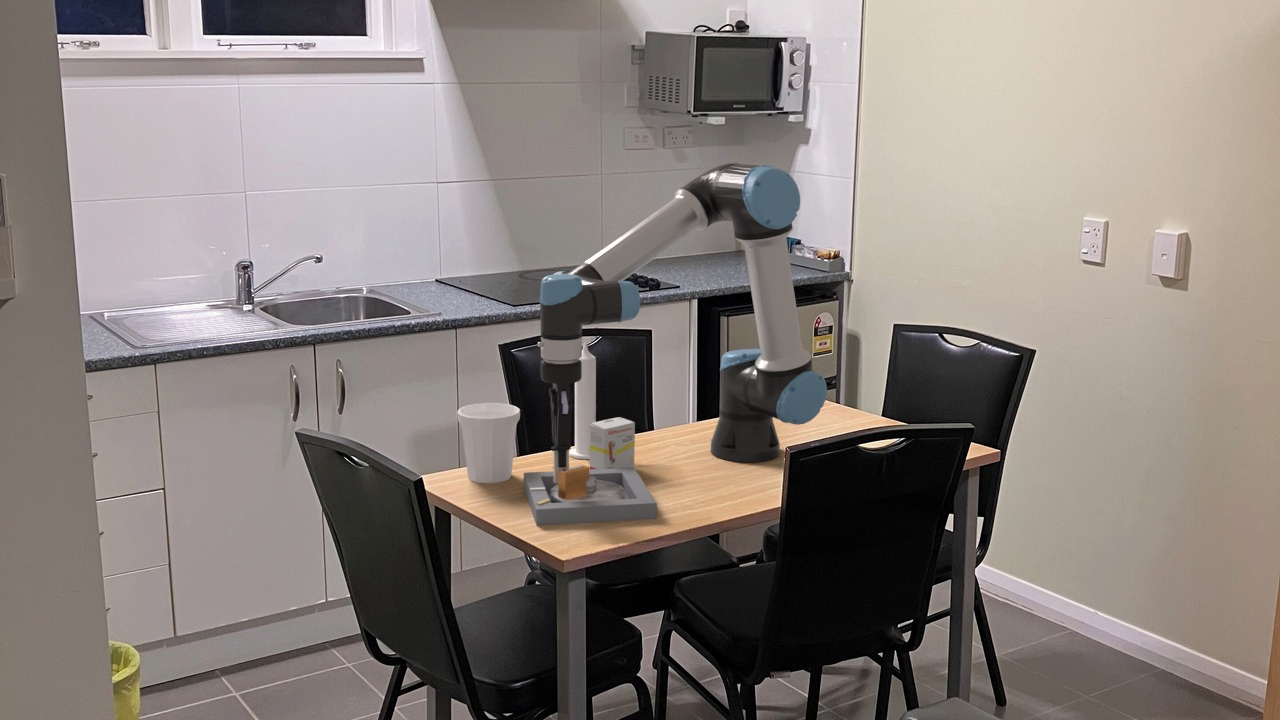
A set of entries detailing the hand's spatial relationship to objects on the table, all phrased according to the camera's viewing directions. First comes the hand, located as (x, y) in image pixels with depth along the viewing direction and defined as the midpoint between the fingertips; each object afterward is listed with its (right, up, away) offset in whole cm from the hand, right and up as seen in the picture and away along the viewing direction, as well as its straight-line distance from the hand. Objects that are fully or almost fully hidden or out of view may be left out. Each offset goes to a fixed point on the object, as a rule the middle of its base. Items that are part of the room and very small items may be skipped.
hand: (561, 481), depth 234 cm
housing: (+5, -6, +3) cm, 8 cm away
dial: (+5, -4, +2) cm, 7 cm away
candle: (+3, +2, +38) cm, 38 cm away
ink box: (+9, -2, +22) cm, 24 cm away
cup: (-16, -2, +18) cm, 24 cm away
